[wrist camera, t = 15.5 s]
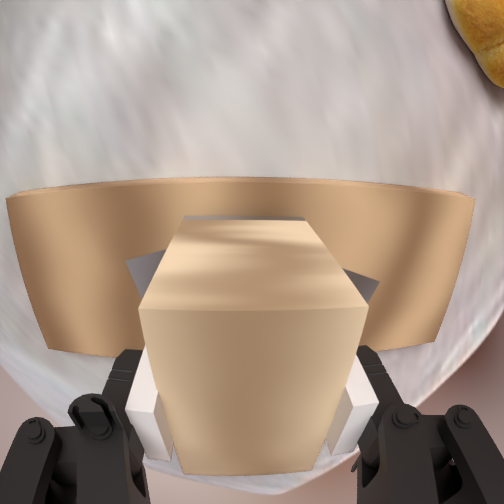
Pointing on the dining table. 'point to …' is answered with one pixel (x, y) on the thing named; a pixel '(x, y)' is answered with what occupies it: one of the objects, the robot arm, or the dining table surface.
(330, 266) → the block
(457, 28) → the bread roll
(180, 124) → the dining table surface
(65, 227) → the oak plank
